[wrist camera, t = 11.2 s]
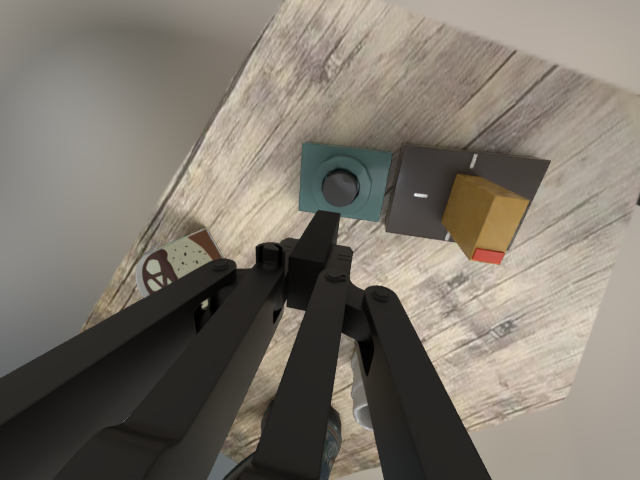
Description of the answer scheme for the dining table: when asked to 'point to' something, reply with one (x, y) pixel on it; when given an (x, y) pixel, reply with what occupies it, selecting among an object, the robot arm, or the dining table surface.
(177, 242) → the food container
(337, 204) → the bell button
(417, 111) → the dining table surface
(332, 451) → the beer stein
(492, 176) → the lock plate
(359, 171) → the push button box
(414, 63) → the dining table surface
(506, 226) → the lock knob
